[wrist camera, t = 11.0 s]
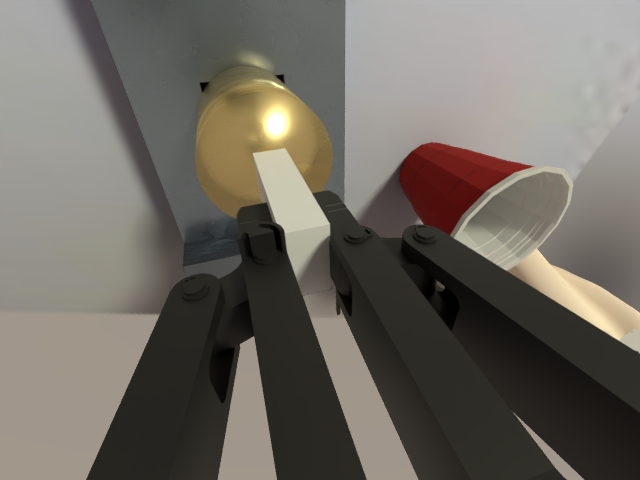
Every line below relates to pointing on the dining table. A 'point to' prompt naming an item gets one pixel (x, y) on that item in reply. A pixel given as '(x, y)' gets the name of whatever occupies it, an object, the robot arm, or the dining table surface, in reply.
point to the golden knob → (254, 136)
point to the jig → (202, 66)
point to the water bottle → (581, 298)
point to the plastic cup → (486, 199)
